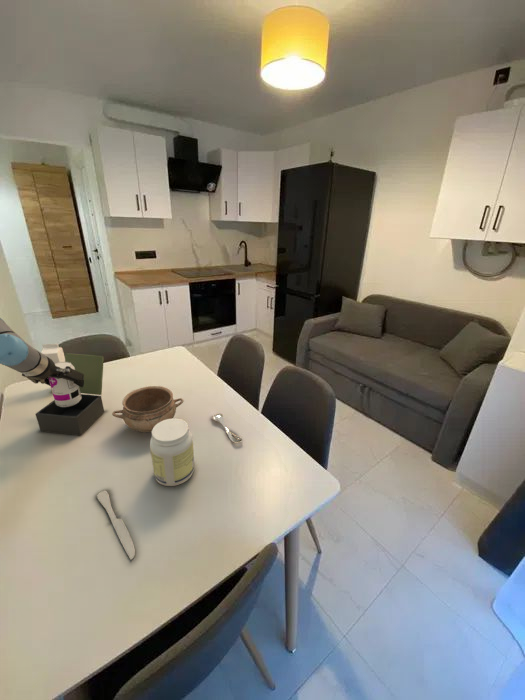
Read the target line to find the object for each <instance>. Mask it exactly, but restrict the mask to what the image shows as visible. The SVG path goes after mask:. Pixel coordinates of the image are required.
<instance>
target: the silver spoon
mask: <svg viewBox="0 0 525 700" xmlns="http://www.w3.org/2000/svg"><path fill="white" fill-rule="evenodd" d="M210 418H211V419H212V420H214V421H216V422H218V423H220V424H221V425H222V426H223V428H224V429H225V432H226V434H227V436H228V438H229V440H231V442H233V443H242V441H243V438H242V437H241V436H239V435H237V434H234V433H233V432H232V431H230V429H229V428H228V427H227V425H226V423H225V415H224V414H222V413H221V412H219V413H216V414H213V415H212V416H211V417H210Z"/></svg>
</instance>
